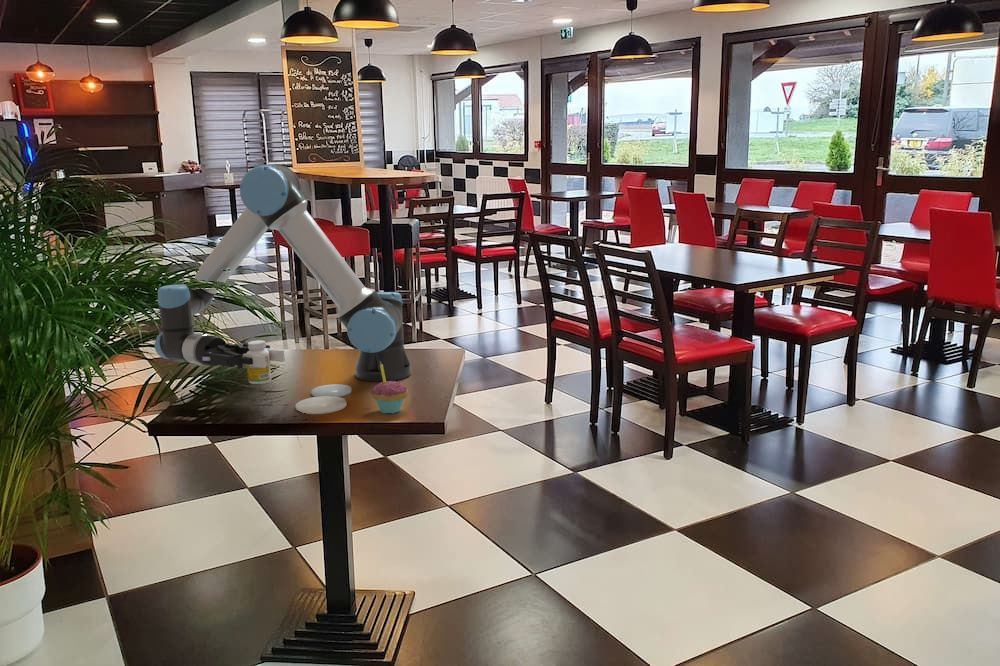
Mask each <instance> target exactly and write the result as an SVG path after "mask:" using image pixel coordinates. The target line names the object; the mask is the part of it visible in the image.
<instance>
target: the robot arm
mask: <svg viewBox="0 0 1000 666" xmlns="http://www.w3.org/2000/svg"><path fill="white" fill-rule="evenodd" d="M240 181H241V182H240V185H239V195H240V198H241V201H242V203H243V205H244V207H245V208H244V210H243V211H242V213H241V214H240V215H239V217H238V218H237V219H236V220H235V221H234V223H233V224H232V225H231V227H230V228H229V230H227V232H226V233H225V234H224V235H223V237H222V238H221V239H220V240H219V241H218V243H217V244H216V246H215V247H214V248H213V250H211V252H210V253H209V255H208V256H207V257H206V258H205V260H204V261H203V262H202V263H201V265H200V266H199V267H198V269H199V272H198V273H196V272H195V273H196V274H195V273H194V274H195V279H197V280H205V281H217V282H218V281H219V282H225V283H226V281H228V279H229V278H230V276H232V275H233V273H234V272H235V271H236V270H237V268H238V266H239V265H240V264H241V263H242V262H243V261H244V259H245V258H246V257H247V256H248V254H249V253H250V252H251V251H252V249H253V248H254V247H255V246H256V245H257V243H258V242H259V241H260V239H262V237H263V235H264V234H265V233H266V232H267V231H268V229H269V230H273V231H274V230H276V231H278V232H279V233H280V235H281V237H283V239H284V240H285V241H286V243H287V244H288V245H289V246H290V248H291V249H292V251H294V252H295V254H296V255H297V257H298V258H299V259H300V260H301V262H302V263H303V264H304V266H305V267H306V268H307V270H308V271H309V272H310V273H311V275H312V276H313V278H314V279H315V280H316V281H317V282H318V284H319V285H320V286H321V288H322V289H323V290H324V292H325V293H326V294H327V295H328V297H329V299H331V300H332V302H333V303H334V304H335V306H336V307H337V319H339V321H340V322H341V323H342V325H343V326H344V327H345V329H346V331H347V332H346V333H347V336H348V339H349V341H350V343H351V344H352V345H353V346H354V347H355V348H356V349H358V350H360V351H359V355H358V358H357V363H356V365H355V376H356V378H357V379H359V380H363V381H365V382H366V381H368V382H383V378H382V373H381V368H380V365H381V364H383V369H384V374H385V378H386V382H387V381H398V380H401V379H405V378H407V376H408V377H410V376H411V374H412V365H411V362H410V359H409V356H408V354H407V351H406V349H405V345H404V321H403V319H404V317H403V305H404V302H403V301H402V300H403V299H402V294H401V293H399V292H396V291H388V292H387V291H376V290H375V289H374V288H369V287H366V286H365V285H364V284H363V283H362V281H361V280H360V279H359V277H358V275H356V273H355V272H354V271H353V269H352V268H351V267H350V265H349V264H348V263H347V261H346V260H345V259H344V257H343V256H342V255H341V254H340V252H339V251H338V250H337V248H336V247H335V246H334V244H333V243H332V242H331V240H330V239H329V238H328V236H327V235H326V234H325V232H324V231H323V230H322V229H321V227H320V226H319V225H318V224H317V221H315V219H314V218H313V217H312V215H311V214H310V213H309V212H308V209H307V208H308V200H307V199H306V198H305V195H304V194H303V193H302V192H301V191H302V187H301V181H300V178H299V177H298V175H297V174H296V173H295V172H294V170H293V169H291V168H289V167H287V166H286V165H282V164H261V165H256V166H255V167H253V168H251V169H250V170H248V171H247V172H245V174H244V176H243V177H242V179H241V180H240ZM227 268H230V271H232V272H227V273H225V272H226V271H228V269H227ZM221 269H223V270H226V271H223V270H221ZM218 292H219V290H218V291H216V290H215V289H196V290H189V288H188V287H187V286H186V284H180V283H179V284H169V285H164V286H160V287H159V288H158V289H157V304H158V308H159V309H158V310H159V318H160V322H161V323H160V324H161V331H160V332H159V334H158V335H157V336H156V339H155V342H154V348H155V349H154V350H155V352H156V354H157V355H158V356H159V357H160V358H163V359H166V360H169V361H172V362H180V363H188V364H189V363H190V364H197V366H198V367H201V366H203V365H204V366H208V367H209V366H210V367H217V366H222V367H227V368H228V367H229V368H233V367H235V366H237V370H238V369H243V368H244V366H246V367H247V366H253V367H260V368H266V361H265V356H260V355H253V354H246V353H247V352H248V351H249V349H248V342H246V341H241V342H240V343H239V344H238V343H237V344H235V343H231V342H226V340H225V339H224V338H222V337H220V336H216V335H209V334H203V333H202V334H201V333H194V321H193V316H195V315H197V314H199V313H202V312H204V311H205V310H207V309H208V308H209V307H210V305H212V303H213V299H214V297H215V296H216V294H217V293H218ZM214 295H215V296H214ZM213 296H214V297H213ZM204 309H205V310H204ZM203 310H204V311H203ZM201 311H202V312H201ZM265 345H266V347H265V349H266V350H268V351H269V356H270V362H271V361H273V362H281V363H285V362H286V361H285V360H286V359H285V350H283V349H275V348H271V346H270V345H268V344H266V343H265ZM187 361H188V362H187ZM380 362H381V364H380Z"/></svg>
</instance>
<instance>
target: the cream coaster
mask: <svg viewBox="0 0 1000 666" xmlns="http://www.w3.org/2000/svg"><path fill="white" fill-rule="evenodd" d="M346 407H347V400H346V399H345V398H343V397H335V396H319V397H314V396H313V397H309V398H305V399H302V400H300V401H298V402H297V403H295V411H297V410H298V411H300V412H302V413H301V414H304V413H306V414H305V415H324V414H331V413H332V414H333V413H335V412H338V411H342V410H343V409H345V408H346ZM298 411H297V412H298ZM300 412H299V413H300Z"/></svg>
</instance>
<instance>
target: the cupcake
mask: <svg viewBox="0 0 1000 666" xmlns="http://www.w3.org/2000/svg"><path fill="white" fill-rule="evenodd" d="M380 364H381V362H380ZM380 368H381V373H382V378H383V381H380V382H378V383H377V384H375V385H374V386H373V388H371V391H370V394H371V397H372V398H373V399H374V400H375V401H376V403H377V406H378V408H379V411H380V412H381V413H382V414H386V413H392V414H396V412H397V413H399V412H400V411H402V410H401V408H402V405H403V402H404V399H406V398H407V397H408V395H409V390H408V387H407V385H405V384H404V383H402V382H400V381H398V380H392V381H386V378H385V374H384V369H383V364H381V365H380Z"/></svg>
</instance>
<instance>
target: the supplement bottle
mask: <svg viewBox="0 0 1000 666" xmlns="http://www.w3.org/2000/svg"><path fill="white" fill-rule="evenodd" d="M247 343H248V349H249V351H248V352H247V353H246V354H253V355H260V356H265V361H266V368H260V367H253V366H246V369H247V371H246V372H247V380H248V382H249V383H250V384H251V385H259V384H260V385H261V384H266V383H269V382H271V381H272V368H271V360H270V356H269V351H268V350H266V349H265V347H266V345H267V344H266V341H265V340H261V339H259V340H258V339H257V340H251V341H248V342H247ZM265 344H266V345H265Z"/></svg>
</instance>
